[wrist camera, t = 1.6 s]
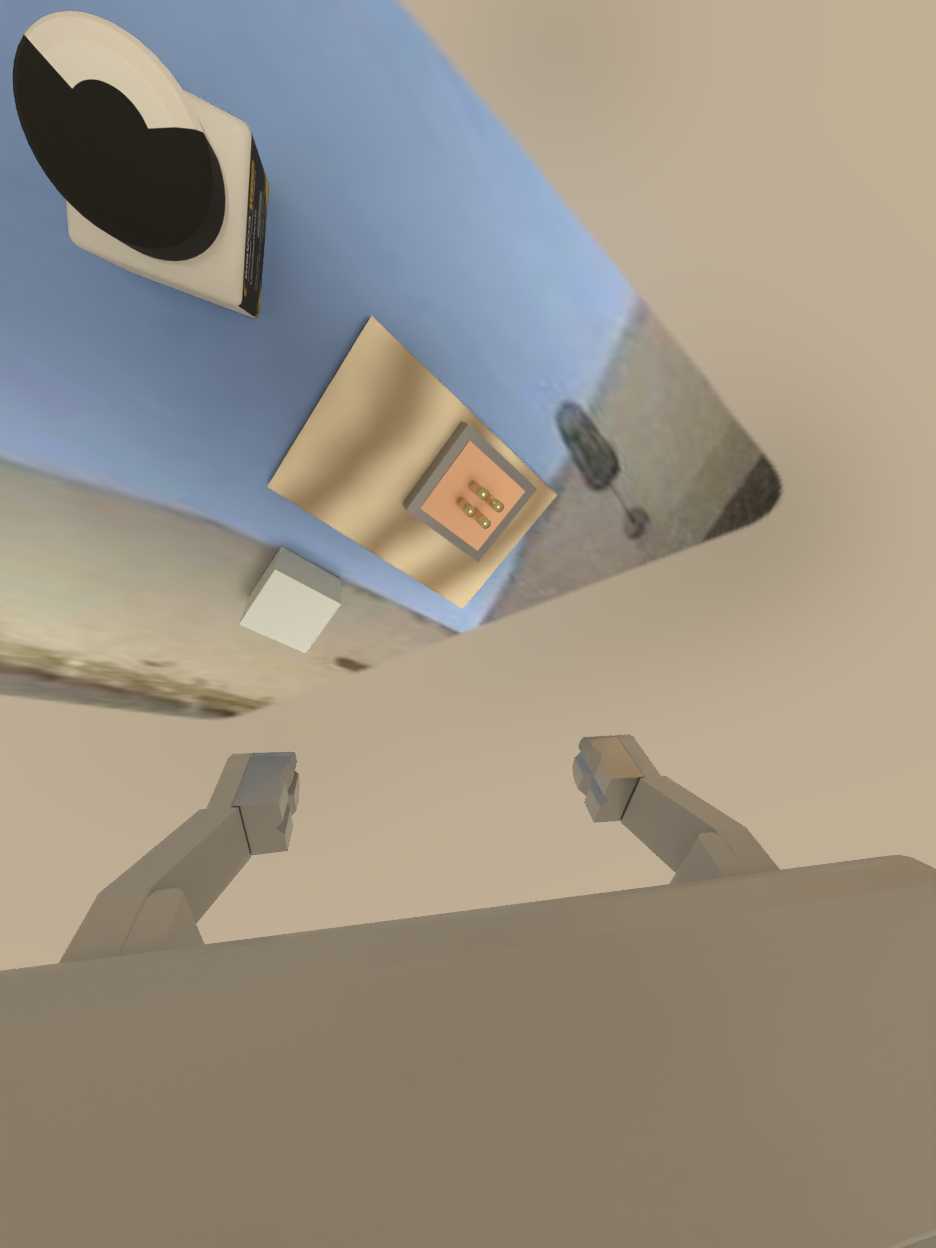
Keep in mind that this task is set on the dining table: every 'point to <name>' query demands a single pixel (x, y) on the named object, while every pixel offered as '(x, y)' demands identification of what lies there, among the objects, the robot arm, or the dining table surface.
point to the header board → (410, 471)
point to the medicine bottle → (143, 161)
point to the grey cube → (292, 601)
